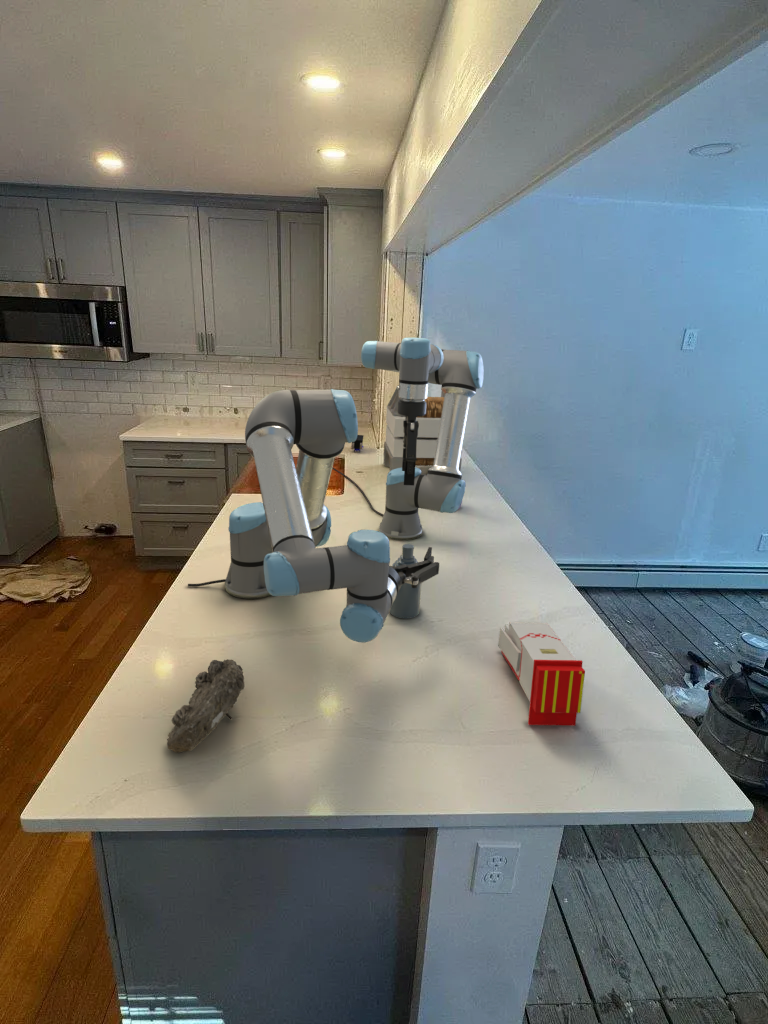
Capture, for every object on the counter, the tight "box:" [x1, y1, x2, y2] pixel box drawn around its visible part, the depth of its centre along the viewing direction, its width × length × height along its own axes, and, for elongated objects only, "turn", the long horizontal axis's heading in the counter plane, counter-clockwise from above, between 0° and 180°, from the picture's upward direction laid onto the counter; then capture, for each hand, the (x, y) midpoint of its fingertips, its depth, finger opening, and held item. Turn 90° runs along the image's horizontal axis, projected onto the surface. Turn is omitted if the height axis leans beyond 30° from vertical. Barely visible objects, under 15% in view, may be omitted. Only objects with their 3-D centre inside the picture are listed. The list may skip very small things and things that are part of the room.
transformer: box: [383, 384, 463, 472], centre depth 268 cm, size 34×33×41 cm
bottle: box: [389, 543, 423, 619], centre depth 146 cm, size 8×8×18 cm
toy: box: [497, 621, 586, 727], centre depth 121 cm, size 12×13×30 cm
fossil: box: [166, 658, 245, 754], centre depth 106 cm, size 22×10×15 cm
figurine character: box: [351, 434, 365, 453], centre depth 312 cm, size 7×8×15 cm
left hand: (401, 548), depth 134 cm, fingers open, 13 cm apart
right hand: (407, 477), depth 155 cm, fingers open, 13 cm apart
